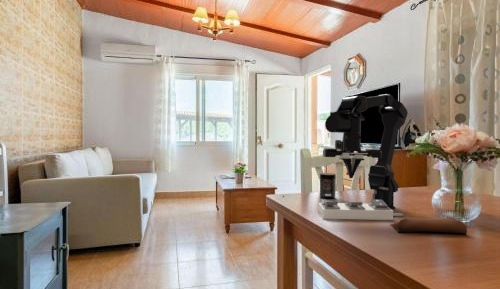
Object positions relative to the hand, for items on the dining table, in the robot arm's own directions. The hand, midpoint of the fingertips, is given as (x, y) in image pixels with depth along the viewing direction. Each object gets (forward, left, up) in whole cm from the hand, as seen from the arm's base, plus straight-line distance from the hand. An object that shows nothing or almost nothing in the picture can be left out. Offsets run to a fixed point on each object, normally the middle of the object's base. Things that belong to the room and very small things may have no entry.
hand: (351, 178), depth 106 cm
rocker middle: (0, +4, -8) cm, 9 cm away
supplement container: (+3, -27, -13) cm, 30 cm away
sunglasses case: (-16, +18, -13) cm, 27 cm away
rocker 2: (-8, +4, -8) cm, 12 cm away
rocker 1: (+8, +4, -8) cm, 12 cm away
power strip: (-3, +3, -12) cm, 13 cm away
